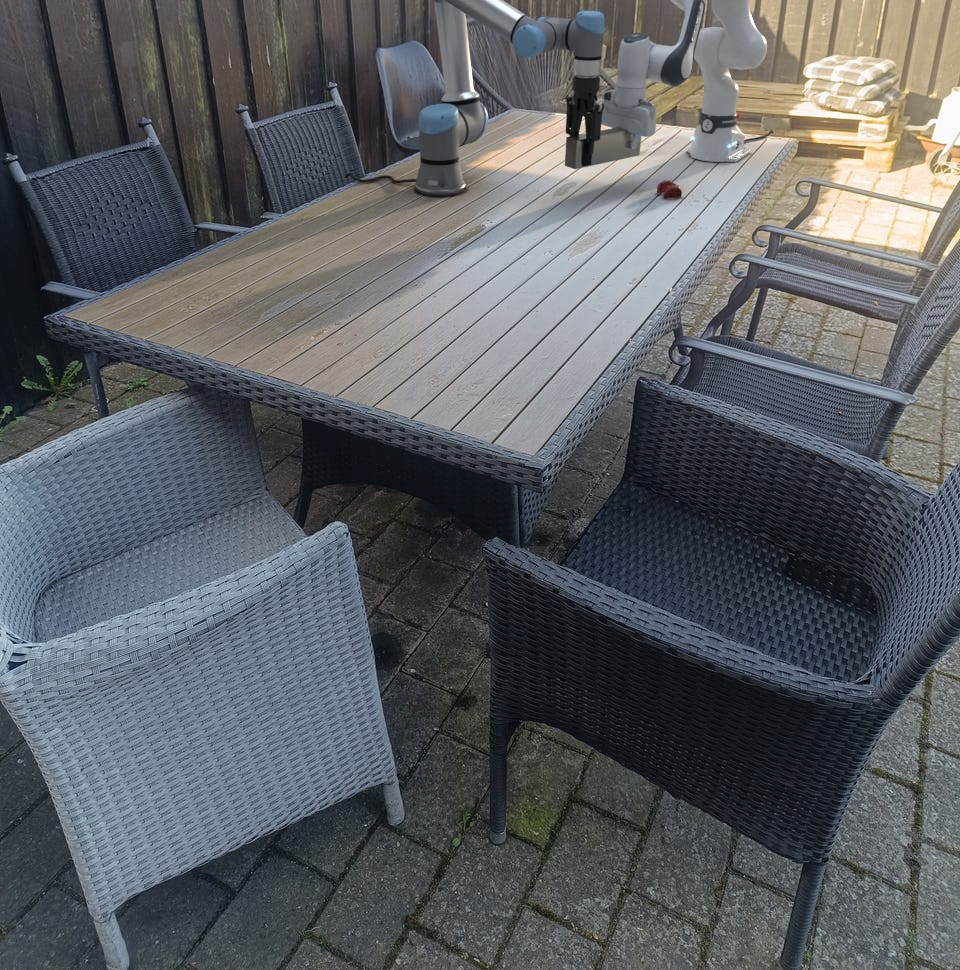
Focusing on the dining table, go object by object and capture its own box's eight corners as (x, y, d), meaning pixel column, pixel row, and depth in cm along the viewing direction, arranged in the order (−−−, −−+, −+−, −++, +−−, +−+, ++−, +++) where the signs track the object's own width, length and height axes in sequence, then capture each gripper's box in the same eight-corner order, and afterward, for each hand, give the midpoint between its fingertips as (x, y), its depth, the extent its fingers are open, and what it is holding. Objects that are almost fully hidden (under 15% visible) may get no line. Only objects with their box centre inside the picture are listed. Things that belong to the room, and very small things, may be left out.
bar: (575, 169, 242) (577, 140, 238) (564, 165, 245) (566, 137, 241) (639, 155, 255) (642, 127, 250) (628, 152, 258) (631, 124, 253)
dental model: (673, 176, 254) (684, 184, 248) (671, 190, 257) (683, 198, 251) (655, 178, 253) (666, 186, 247) (654, 192, 256) (665, 200, 250)
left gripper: (619, 79, 228) (611, 168, 241) (575, 69, 239) (570, 154, 253) (598, 82, 224) (591, 172, 238) (555, 72, 236) (551, 158, 249)
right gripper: (663, 101, 239) (657, 152, 247) (613, 89, 253) (609, 138, 261) (647, 104, 236) (642, 155, 244) (598, 92, 250) (594, 141, 258)
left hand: (580, 163), depth 245 cm, fingers closed on bar, 5 cm apart
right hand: (625, 146), depth 253 cm, fingers closed on bar, 4 cm apart
